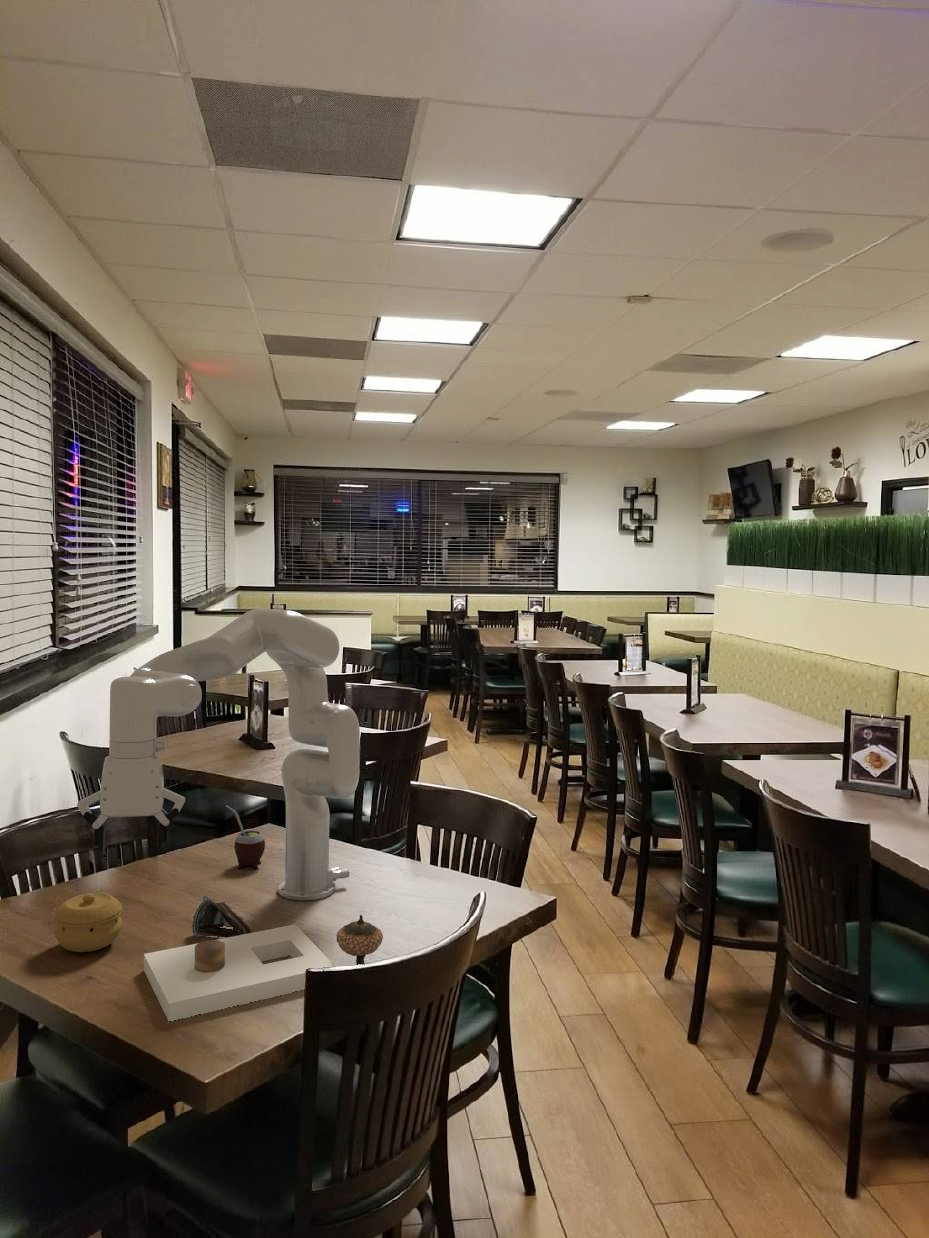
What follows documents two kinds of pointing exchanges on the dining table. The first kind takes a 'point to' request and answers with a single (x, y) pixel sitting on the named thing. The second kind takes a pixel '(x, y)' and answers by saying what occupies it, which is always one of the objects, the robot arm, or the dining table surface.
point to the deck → (233, 972)
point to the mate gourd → (248, 846)
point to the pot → (88, 922)
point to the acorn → (359, 939)
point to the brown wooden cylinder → (209, 956)
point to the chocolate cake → (217, 920)
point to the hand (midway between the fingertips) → (131, 847)
